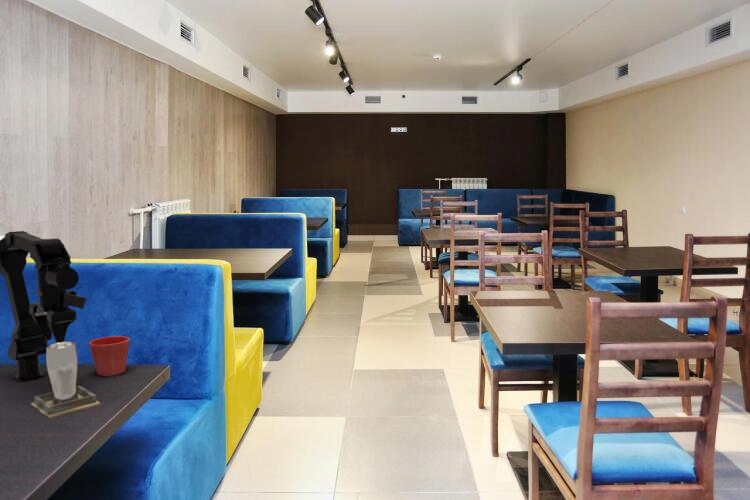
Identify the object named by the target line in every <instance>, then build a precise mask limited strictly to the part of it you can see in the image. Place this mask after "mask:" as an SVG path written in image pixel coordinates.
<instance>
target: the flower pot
mask: <svg viewBox="0 0 750 500" xmlns="http://www.w3.org/2000/svg"><path fill="white" fill-rule="evenodd" d="M88 344H89V349H90V353H91V357H92V361H93V364H94V368H95V370H96V373H97V375H98V376H104V377H109V376H117V375H120V374H123V373H124V372H125V371H126V369H127V364H128V363H127V362H128V356H129V348H130V337H128V336H122V335H121V336H120V335H113V336H105V337H100V338H95V339H92V340H90V341H89V342H88Z"/></svg>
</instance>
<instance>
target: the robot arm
mask: <svg viewBox="0 0 750 500" xmlns="http://www.w3.org/2000/svg"><path fill="white" fill-rule="evenodd" d="M28 255H29V258H30V259H32V260H33V262H34V264H35V265H34V269H36V277H37V287H38V288H37V289H36V290H35V293H36V295H38V301H39V302H33V303H32V304H31V303H30V302H31V301H30V299H29V294H28V289H27V285H26V281H25V277H24V270H25V267H26V265H27V263H28V261H27V257H28ZM71 264H72V261H71V256H70V254H69V252H68V250H67V248H66V247H65V245H64V243H63V242H62V240H61V239H60V238H42V237H39V236H36V235H33V234H30V233H28V232H27V231H24V230H18V231H17V230H16V231H9V232H7V233H5V235H4V237H3V238H1V239H0V274H1V276H3V277H4V282H5V286H6V290H7V294H8V299H9V302H10V303H9V304H10V307H11V311H12V312H11V313H12V316H13V320H14V324H15V325H14V327H13V328H14V329H12V333H11V336H10V337H11V342H10V344H9V347H8V349H7V356H8V359H10V360H12V361H16V369H17V370H16V371H17V374H14V375H13V377H14V378H15V379H16V380H18V381H19V382H23V381H29V380H32V379H37V378H41V377H45V376H46V374H45V373H44V372H42V371H41V366H40V365H41V364H40V356H41V355H46V346H47V345H48V341H51V340H52V338H54V340H55V341H56V342H55V343H57V342H65V339H66V335H67V331H68V328H69V326H70V325H71V324H72V323H74V322H75V321H76V320H77V319H78V315H77V311H76V310H74V309H73V308H78V309H81V310H84V309H85V305H86V303H87V299H88V298H87V297H84V296H80V295H78V294H77V292H76V291H74V290H72V289H74V288H75V287H76V286H77V284H78V282H79V281H80V280H79V278H80V277H79V274H78V272H77V270H76V269H74V268H72V267H71ZM71 307H73V308H71ZM52 336H53V337H52Z"/></svg>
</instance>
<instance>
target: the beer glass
mask: <svg viewBox="0 0 750 500" xmlns="http://www.w3.org/2000/svg"><path fill="white" fill-rule="evenodd" d="M77 352H78V351H77V345H76V342H75V341H64V342H54V343H49V344H47V346H46V354H45V355H46V356H45V359H46V369H47V373H48V377H49V381H50V383H51V387H52V392H53V398H52V405H57V404H60V403H64V402H68V401H72V400H76V399H79V398H78V395H77V391H76V386H77V375H78V365H79V364H78V363H79V362H78V353H77Z"/></svg>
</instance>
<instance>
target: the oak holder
mask: <svg viewBox="0 0 750 500" xmlns="http://www.w3.org/2000/svg"><path fill="white" fill-rule="evenodd" d="M76 391H77V395H78V398H79V399H76V400H72V401H68V402H64V403H60V404H57V405H52V398H53V391H52V392H48V393H43V394H40V395H35V396H33V401H32V402H30V406H32V407H33V408H34V409H36V410H37V411H38V412H40V413H41V414H42V415H44V416H45V417H46V418H47V419H49V420H50V419H55V418H60V417H62V416H65V415H69V414H73V413H77V412H80V411H84V410H87V409H91V408H95V407H98V406H101V404H102V403H101V402H100V401H98V400H97V394H95V393H93V392H91V391H89V390H88V389H86V388H84V387H83V386H82V385H76Z"/></svg>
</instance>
